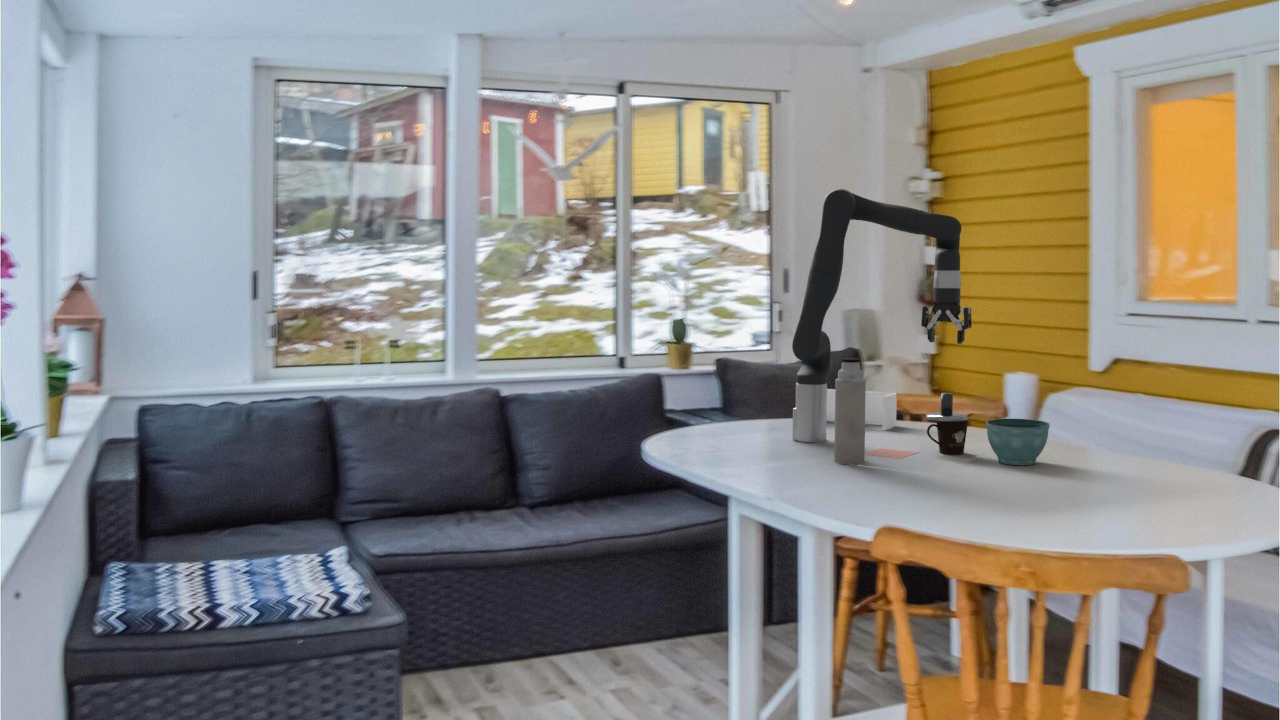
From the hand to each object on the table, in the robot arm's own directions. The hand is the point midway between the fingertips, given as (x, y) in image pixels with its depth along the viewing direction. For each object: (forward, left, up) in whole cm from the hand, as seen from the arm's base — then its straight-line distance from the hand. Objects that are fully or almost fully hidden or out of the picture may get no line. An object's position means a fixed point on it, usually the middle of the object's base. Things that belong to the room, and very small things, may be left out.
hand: (945, 342), depth 331 cm
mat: (-6, -22, -30) cm, 38 cm away
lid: (+6, -12, -20) cm, 24 cm away
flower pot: (+26, -13, -30) cm, 42 cm away
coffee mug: (+6, -12, -30) cm, 33 cm away
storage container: (-40, +21, -30) cm, 55 cm away
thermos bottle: (-9, -39, -30) cm, 50 cm away
